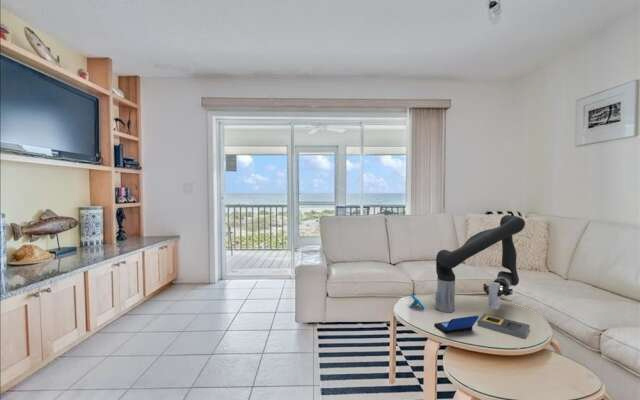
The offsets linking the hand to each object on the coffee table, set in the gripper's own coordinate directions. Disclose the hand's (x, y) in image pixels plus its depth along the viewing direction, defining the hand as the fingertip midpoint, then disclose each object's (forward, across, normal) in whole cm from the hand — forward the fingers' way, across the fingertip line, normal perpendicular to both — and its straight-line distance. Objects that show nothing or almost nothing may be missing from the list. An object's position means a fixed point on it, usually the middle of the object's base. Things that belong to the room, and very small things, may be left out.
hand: (492, 293), depth 154 cm
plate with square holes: (-3, +4, +17) cm, 17 cm away
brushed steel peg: (-3, 0, +8) cm, 8 cm away
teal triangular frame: (+2, -38, +17) cm, 42 cm away
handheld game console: (+16, -12, +17) cm, 26 cm away
